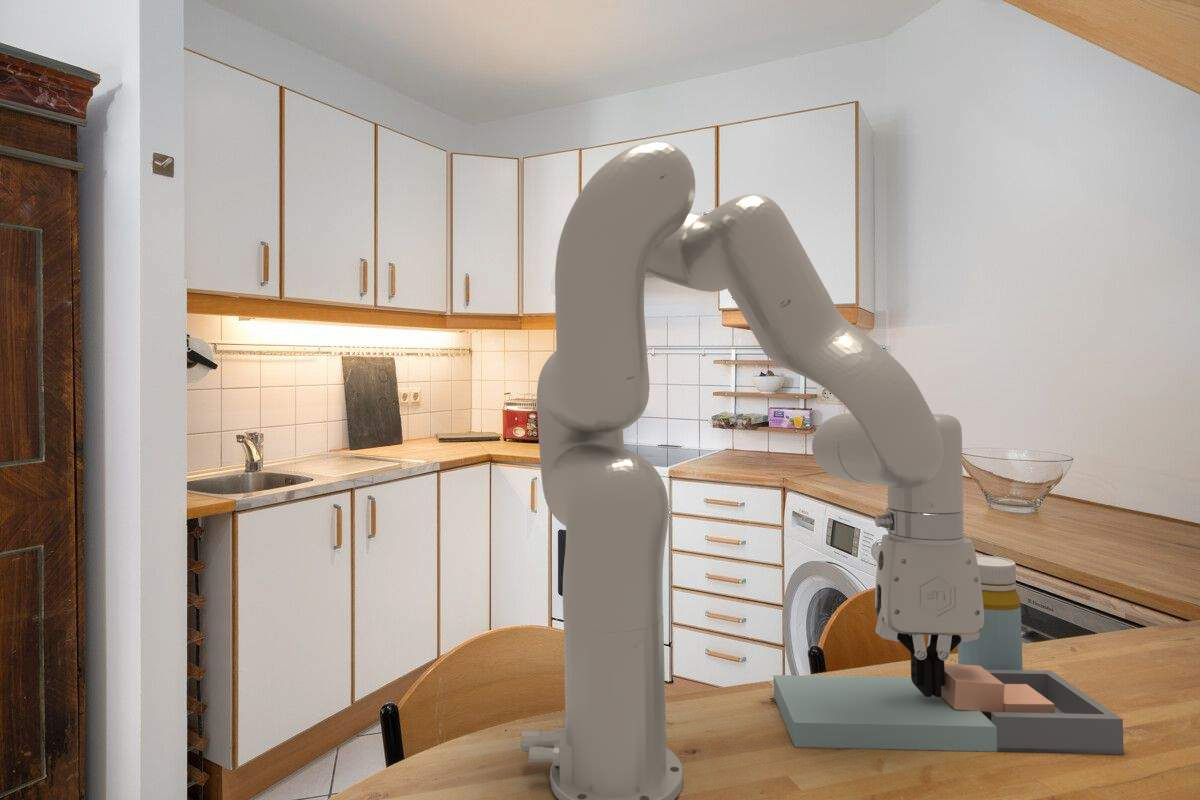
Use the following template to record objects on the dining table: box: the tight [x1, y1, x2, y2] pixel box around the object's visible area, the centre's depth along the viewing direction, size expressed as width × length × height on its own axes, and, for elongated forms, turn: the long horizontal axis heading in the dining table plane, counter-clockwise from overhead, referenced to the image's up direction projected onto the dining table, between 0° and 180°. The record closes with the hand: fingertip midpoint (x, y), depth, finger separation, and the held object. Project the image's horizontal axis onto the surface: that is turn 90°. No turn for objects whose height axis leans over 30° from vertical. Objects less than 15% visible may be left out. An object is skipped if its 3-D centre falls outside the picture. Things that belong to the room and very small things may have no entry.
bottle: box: [957, 554, 1024, 670], centre depth 84 cm, size 7×7×15 cm
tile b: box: [982, 684, 1055, 719], centre depth 72 cm, size 5×5×3 cm
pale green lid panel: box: [772, 674, 997, 752], centre depth 73 cm, size 20×12×2 cm, turn 85°
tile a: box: [941, 662, 1005, 712], centre depth 72 cm, size 5×5×3 cm
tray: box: [980, 669, 1125, 755], centre depth 72 cm, size 12×12×4 cm
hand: (927, 691), depth 73 cm, fingers closed
